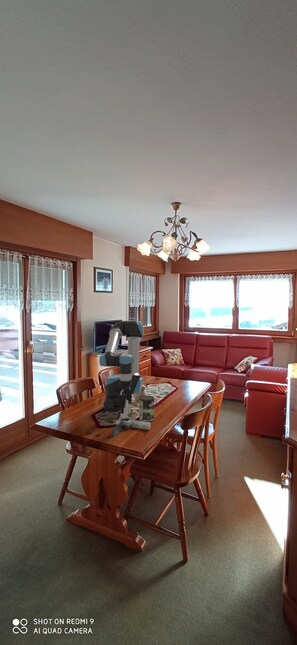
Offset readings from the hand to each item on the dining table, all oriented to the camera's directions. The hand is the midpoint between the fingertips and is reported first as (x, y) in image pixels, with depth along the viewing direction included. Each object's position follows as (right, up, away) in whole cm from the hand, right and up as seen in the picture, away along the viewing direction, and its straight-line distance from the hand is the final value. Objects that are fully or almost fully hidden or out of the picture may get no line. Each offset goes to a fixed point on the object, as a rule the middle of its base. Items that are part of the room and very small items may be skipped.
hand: (125, 415), depth 192 cm
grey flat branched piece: (+3, -7, -7) cm, 10 cm away
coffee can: (+13, -6, +13) cm, 19 cm away
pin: (0, -6, 0) cm, 6 cm away
